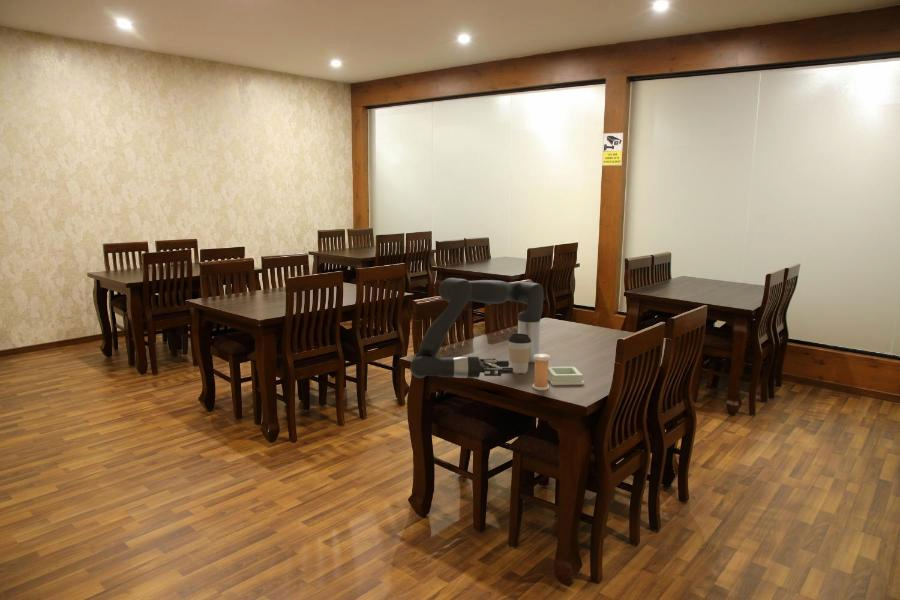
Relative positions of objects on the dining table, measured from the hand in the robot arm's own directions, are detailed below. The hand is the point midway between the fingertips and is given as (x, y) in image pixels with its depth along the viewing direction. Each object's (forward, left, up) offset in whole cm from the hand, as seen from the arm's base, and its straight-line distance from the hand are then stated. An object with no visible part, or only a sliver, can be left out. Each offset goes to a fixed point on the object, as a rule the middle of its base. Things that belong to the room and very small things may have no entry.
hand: (510, 367), depth 216 cm
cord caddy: (-9, +22, -8) cm, 25 cm away
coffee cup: (-21, +7, -8) cm, 24 cm away
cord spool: (0, +11, -8) cm, 14 cm away
